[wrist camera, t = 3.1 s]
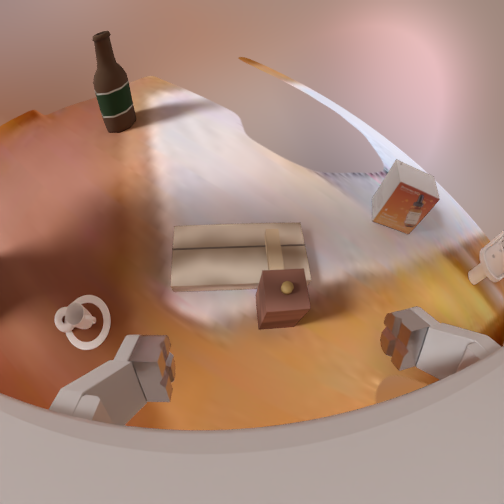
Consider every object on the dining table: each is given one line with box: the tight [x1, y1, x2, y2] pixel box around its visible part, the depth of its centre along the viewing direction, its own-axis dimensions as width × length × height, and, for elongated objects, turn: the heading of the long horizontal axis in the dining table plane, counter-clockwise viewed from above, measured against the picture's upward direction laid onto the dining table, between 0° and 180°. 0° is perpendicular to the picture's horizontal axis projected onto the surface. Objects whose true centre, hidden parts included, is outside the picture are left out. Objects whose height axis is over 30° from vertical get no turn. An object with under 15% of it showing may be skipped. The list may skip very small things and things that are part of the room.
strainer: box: [468, 230, 504, 285], centre depth 33 cm, size 7×7×15 cm
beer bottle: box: [93, 31, 136, 133], centre depth 42 cm, size 8×8×24 cm
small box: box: [372, 159, 439, 234], centre depth 39 cm, size 8×6×10 cm
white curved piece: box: [55, 295, 111, 350], centre depth 30 cm, size 9×8×4 cm
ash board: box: [171, 223, 311, 292], centre depth 37 cm, size 9×18×2 cm, turn 95°
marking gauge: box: [256, 229, 311, 329], centre depth 32 cm, size 12×4×9 cm, turn 5°
